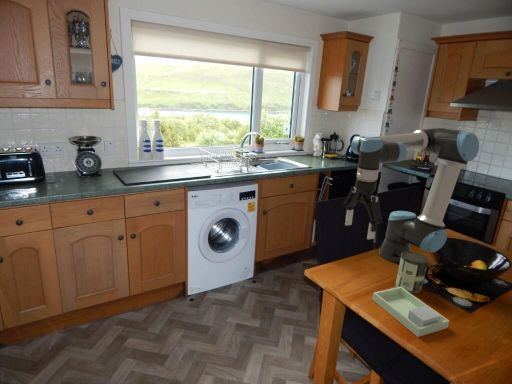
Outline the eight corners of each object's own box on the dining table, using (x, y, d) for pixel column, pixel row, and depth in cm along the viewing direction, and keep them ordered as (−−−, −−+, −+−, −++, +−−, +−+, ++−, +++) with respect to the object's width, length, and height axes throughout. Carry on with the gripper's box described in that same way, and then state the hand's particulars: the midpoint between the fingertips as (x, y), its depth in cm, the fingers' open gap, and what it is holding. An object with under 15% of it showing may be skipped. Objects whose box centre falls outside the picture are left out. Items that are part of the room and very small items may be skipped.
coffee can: (418, 282, 146) (424, 253, 142) (424, 295, 137) (431, 264, 133) (393, 278, 148) (399, 249, 144) (397, 291, 138) (404, 260, 134)
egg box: (423, 316, 123) (426, 305, 121) (437, 326, 117) (440, 315, 116) (407, 320, 120) (409, 310, 118) (420, 331, 114) (423, 320, 113)
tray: (399, 294, 137) (400, 286, 136) (447, 329, 117) (449, 320, 116) (371, 300, 131) (373, 292, 130) (417, 338, 112) (419, 329, 111)
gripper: (338, 171, 136) (332, 220, 142) (382, 189, 114) (372, 246, 120) (353, 170, 139) (347, 218, 145) (399, 188, 117) (389, 243, 123)
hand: (358, 231), depth 133 cm, fingers open, 13 cm apart
